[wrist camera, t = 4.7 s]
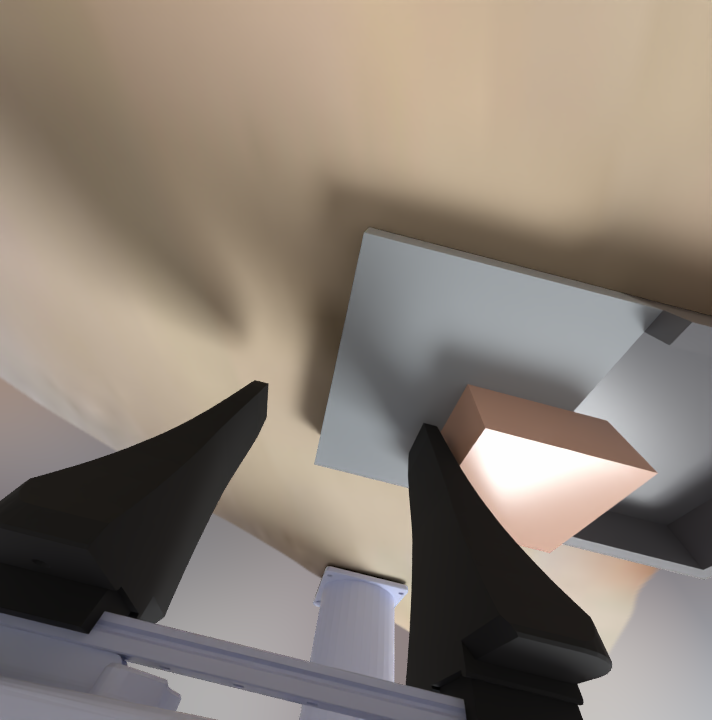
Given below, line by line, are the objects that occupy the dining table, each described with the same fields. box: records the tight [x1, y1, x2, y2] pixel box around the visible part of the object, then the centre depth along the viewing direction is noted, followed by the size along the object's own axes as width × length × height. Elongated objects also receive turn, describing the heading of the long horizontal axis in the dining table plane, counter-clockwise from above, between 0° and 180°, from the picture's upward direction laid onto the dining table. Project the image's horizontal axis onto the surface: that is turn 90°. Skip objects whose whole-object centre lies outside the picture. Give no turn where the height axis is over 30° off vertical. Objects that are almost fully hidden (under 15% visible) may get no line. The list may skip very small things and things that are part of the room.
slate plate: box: [314, 227, 663, 488], centre depth 13 cm, size 12×10×2 cm
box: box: [563, 292, 712, 580], centre depth 12 cm, size 12×12×3 cm
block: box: [441, 384, 658, 553], centre depth 12 cm, size 6×6×2 cm
